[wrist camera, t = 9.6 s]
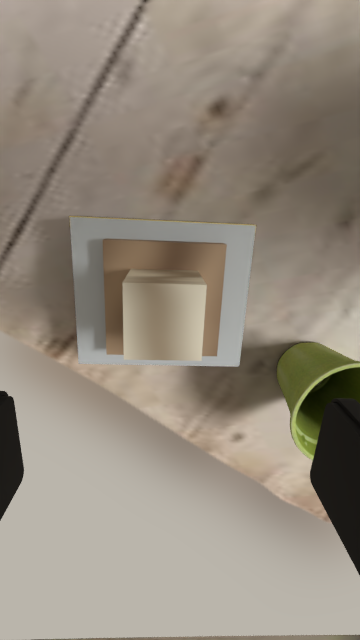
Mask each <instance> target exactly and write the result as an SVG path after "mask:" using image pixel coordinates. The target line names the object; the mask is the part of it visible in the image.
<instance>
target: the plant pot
mask: <svg viewBox="0 0 360 640" xmlns="http://www.w3.org/2000/svg"><path fill="white" fill-rule="evenodd" d="M277 380H278V382H279V385H280V387H281V390H282V392H283V395H284V397H285V400H286V402H287V405H288V407H289V410H290V416H291V417H290V430H291V435H292V438H293V440H294V442H295V444H296V446H297V447H298V449H299V450H300V451H301V452H302V453H303V454H304V455H305V456H307V457H308V458H309V459H311V460H313V458H314V454H315V449H316V445H317V441H318V436H319V432H320V427H321V423H322V419H323V414H324V410H325V406H326V404H327V403H331V401H332V399H334V398H346V399H355V400H356V401H357V402H358V403H359V404H360V362H359V361H354V360H352V359H350V358H348V357H346V356H344V355H342V354H340V353H338V352H336V351H334V350H332V349H330V348H328V347H326V346H324V345H322V344H319V343H299V344H297V345H294V346H293V347H291V348H289V349H288V350H287V351H286V352H285V353H284V354H283V355H282V357H281V358H280V360H279V362H278V366H277ZM321 380H323V381H322V382H321V383H320V384H319V385H317V386H315V385H316V384H318V383H319V382H320V381H321ZM314 386H315V387H314Z"/></svg>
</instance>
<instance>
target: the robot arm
mask: <svg viewBox="0 0 360 640" xmlns="http://www.w3.org/2000/svg"><path fill="white" fill-rule="evenodd" d="M23 474H24V467H23V460H22V453H21V447H20V440H19V433H18V426H17V419H16V412H15V405H14V400H13V398H12V397H11V396H8V394H7V393H6V392H5V391H0V520H1V518H2V516H3V515H4V513H5V511H6V509H7V507H8V505H9V504H10V502H11V500H12V498H13V496H14V494H15V493H16V491H17V489H18V487H19V485H20V483H21V481H22V478H23ZM310 478H311V483H312V485H313V487H314V489H315V491H316V493H317V495H318V497H319V499H320V501H321V503H322V505H323V506H324V508H325V510H326V512H327V514H328V516H329V518H330V520H331V522H332V524H333V525H334V527H335V529H336V531H337V533H338V535H339V536H340V539H341V541H342V542H343V544H344V546H345V548H346V550H347V552H348V554H349V556H350V558H351V560H352V561H353V563H354V565H355V567H356V569H357V571H358V573H359V575H360V404H359V403H358V402H357V401H356V400H355V399H346V398H334V399H332V401H331V403H327V404H326V406H325V410H324V414H323V419H322V423H321V427H320V432H319V436H318V441H317V445H316V449H315V454H314V458H313V462H312V467H311V471H310ZM34 640H360V635H295V636H294V635H292V636H291V635H289V636H213V637H212V636H209V637H208V636H207V637H138V638H85V639H83V638H81V639H34Z"/></svg>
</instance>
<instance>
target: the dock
mask: <svg viewBox="0 0 360 640" xmlns="http://www.w3.org/2000/svg"><path fill="white" fill-rule="evenodd" d="M69 224H70V232H71V248H72V264H73V280H74V296H75V312H76V328H77V344H78V360H79V364H124V365H178V366H232V367H239V365H240V356H241V348H242V339H243V331H244V322H245V314H246V305H247V297H248V288H249V280H250V271H251V263H252V254H253V246H254V237H255V233H256V225H252V224H231V223H210V222H189V221H167V220H146V219H125V218H104V217H83V216H69ZM106 238H108V239H134V240H159V241H185V242H210V243H224V244H227V248H226V259H225V271H224V282H223V294H222V305H221V317H220V328H219V340H218V351H217V356H202V361H180V360H124V355H107V353H106V325H105V297H104V269H103V241H102V240H103V239H106Z"/></svg>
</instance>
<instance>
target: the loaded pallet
mask: <svg viewBox="0 0 360 640" xmlns="http://www.w3.org/2000/svg"><path fill="white" fill-rule="evenodd" d="M102 241H103V269H104V297H105V325H106V353H107V355H124V360H180V361H202V356H217V351H218V340H219V328H220V317H221V305H222V294H223V282H224V271H225V259H226V248H227V244H224V243H210V242H185V241H159V240H134V239H108V238H106V239H103V240H102Z"/></svg>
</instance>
